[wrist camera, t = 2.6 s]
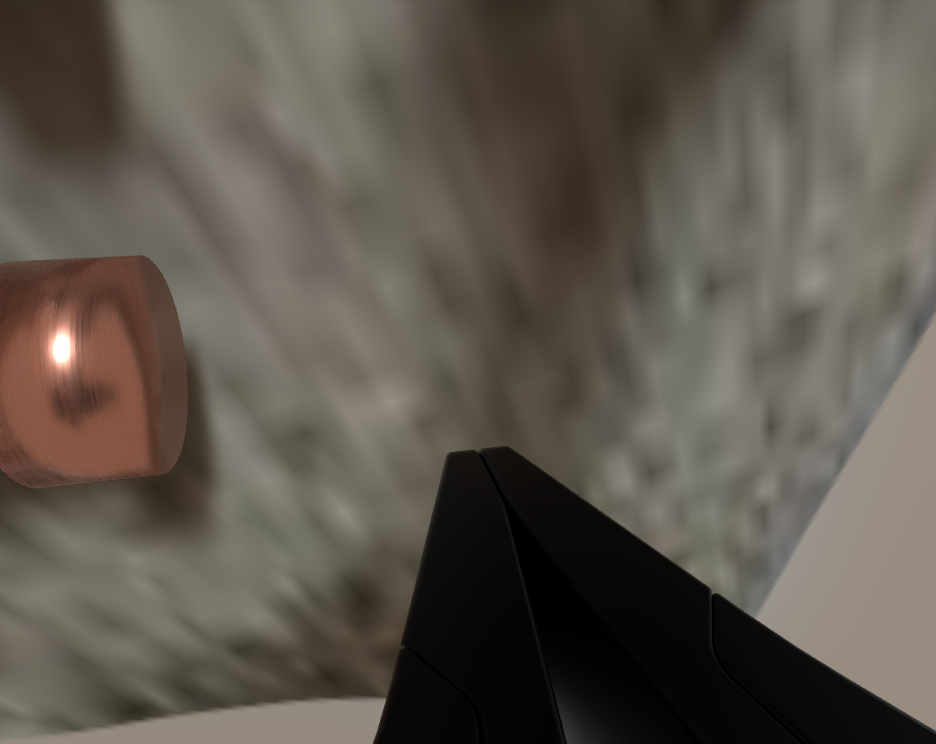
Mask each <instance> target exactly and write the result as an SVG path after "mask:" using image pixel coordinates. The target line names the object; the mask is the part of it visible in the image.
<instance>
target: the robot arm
mask: <svg viewBox="0 0 936 744" xmlns="http://www.w3.org/2000/svg"><path fill="white" fill-rule="evenodd" d="M373 744H936V731H935V730H933V729H932V728H930V727H928V726H926V725H925V724H923V723H921V722H920V721H918V720H917V719H915V718H913V717H911V716H910V715H908V714H906V713H905V712H903V711H901V710H900V709H898V708H896V707H895V706H893V705H891V704H890V703H888V702H886V701H885V700H883V699H881V698H880V697H878V696H876V695H874V694H873V693H871V692H870V691H868V690H866V689H865V688H863V687H861V686H860V685H858V684H856V683H854V682H853V681H851V680H850V679H848V678H846V677H845V676H843V675H841V674H840V673H838V672H837V671H835V670H833V669H832V668H830V667H829V666H827V665H825V664H824V663H822V662H820V661H819V660H817V659H816V658H814V657H812V656H811V655H809V654H808V653H806V652H804V651H802V650H801V649H799V648H798V647H796V646H795V645H793V644H792V643H790V642H789V641H787V640H785V639H784V638H783V637H781V636H780V635H778V634H777V633H775V632H774V631H772V630H770V629H769V628H768V627H766V626H765V625H763V624H762V623H760V622H759V621H757V620H756V619H754V618H753V617H751V616H750V615H748V614H747V613H746V612H744V611H743V610H741V609H740V608H738V607H737V606H736V605H734V604H733V603H731V602H730V601H728V600H727V599H726V598H724V597H723V596H721V595H720V594H718V593H715V594H713V596H712V590H711V588H710V587H708V586H707V585H705V584H704V583H702V582H701V581H700V580H698V579H697V578H695V577H694V576H692V575H691V574H690V573H688V572H687V571H685V570H684V569H682V568H681V567H680V566H678V565H677V564H675V563H674V562H672V561H671V560H670V559H668V558H667V557H665V556H664V555H662V554H661V553H660V552H658V551H657V550H655V549H654V548H653V547H651V546H650V545H648V544H647V543H645V542H644V541H643V540H641V539H640V538H638V537H637V536H635V535H634V534H633V533H631V532H630V531H628V530H627V529H625V528H624V527H623V526H621V525H620V524H618V523H617V522H615V521H614V520H613V519H611V518H610V517H608V516H607V515H605V514H604V513H603V512H601V511H600V510H598V509H597V508H596V507H594V506H593V505H591V504H590V503H588V502H587V501H586V500H584V499H583V498H581V497H580V496H578V495H577V494H576V493H574V492H573V491H571V490H570V489H568V488H567V487H566V486H564V485H563V484H561V483H560V482H558V481H557V480H556V479H554V478H553V477H551V476H550V475H548V474H547V473H546V472H544V471H543V470H541V469H540V468H539V467H537V466H536V465H534V464H533V463H531V462H530V461H529V460H527V459H526V458H524V457H523V456H521V455H520V454H519V453H517V452H516V451H514V450H513V449H511V448H510V447H507V446H501V447H493V448H484V449H481V450H480V451H479V452H477V451H475V450H466V451H458V452H450V453H449V454H447V456H446V459H445V464H444V468H443V472H442V476H441V480H440V484H439V488H438V493H437V497H436V501H435V505H434V509H433V513H432V517H431V522H430V526H429V530H428V534H427V538H426V542H425V546H424V550H423V555H422V559H421V563H420V567H419V571H418V575H417V579H416V584H415V588H414V592H413V596H412V600H411V604H410V608H409V612H408V617H407V621H406V625H405V629H404V633H403V637H402V641H401V649H400V650H399V652H398V656H397V660H396V664H395V668H394V672H393V676H392V681H391V684H390V688H389V691H388V695H387V698H386V702H385V706H384V709H383V713H382V716H381V720H380V723H379V727H378V730H377V733H376V736H375V739H374V742H373Z"/></svg>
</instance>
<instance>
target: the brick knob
mask: <svg viewBox="0 0 936 744" xmlns="http://www.w3.org/2000/svg"><path fill="white" fill-rule="evenodd" d="M187 416H188V377H187V364H186V355H185V348H184V342H183V336H182V331H181V326H180V322H179V318H178V314H177V310H176V307H175V304H174V301H173V298H172V295H171V292H170V290H169V288H168V285H167V283H166V281H165V279H164V277H163V275H162V274H161V272H160V270H159V269H158V267H157V266H156V265H155V264H154V263H153V262H152V261H151V260H150V259H149V258H147V257H145V256H119V257H97V258H75V259H53V260H30V261H11V262H6V263H3V264H1V265H0V469H1V470H2V471H3V472H4V473H5V474H6V475H7V476H8V477H9V478H11V479H12V480H13V481H15V482H17V483H18V484H20V485H22V486H25V487H29V488H46V487H55V486H64V485H73V484H82V483H91V482H100V481H109V480H118V479H127V478H136V477H145V476H154V475H162V474H166V473H168V472H169V471H171V470H172V468H173V467H174V466H175V464H176V463H177V461H178V458H179V456H180V454H181V450H182V447H183V443H184V438H185V433H186V426H187Z"/></svg>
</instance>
